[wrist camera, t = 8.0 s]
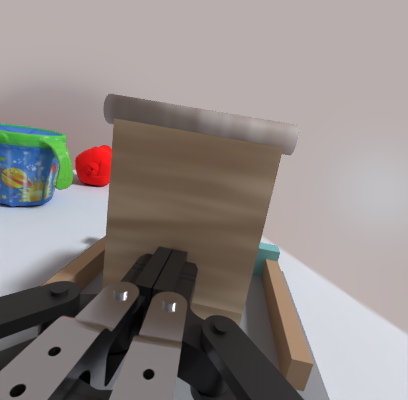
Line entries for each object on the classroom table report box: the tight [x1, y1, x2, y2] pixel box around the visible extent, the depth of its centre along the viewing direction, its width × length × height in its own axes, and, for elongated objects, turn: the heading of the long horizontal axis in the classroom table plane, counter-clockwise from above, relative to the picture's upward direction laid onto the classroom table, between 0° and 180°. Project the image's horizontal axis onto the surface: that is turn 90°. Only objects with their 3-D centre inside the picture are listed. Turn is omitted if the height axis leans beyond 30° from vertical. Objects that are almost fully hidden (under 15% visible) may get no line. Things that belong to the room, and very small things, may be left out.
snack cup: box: [0, 123, 73, 207], centre depth 36 cm, size 16×10×10 cm
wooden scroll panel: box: [102, 94, 299, 326], centre depth 18 cm, size 11×9×14 cm
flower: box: [75, 145, 112, 186], centre depth 51 cm, size 8×8×8 cm
